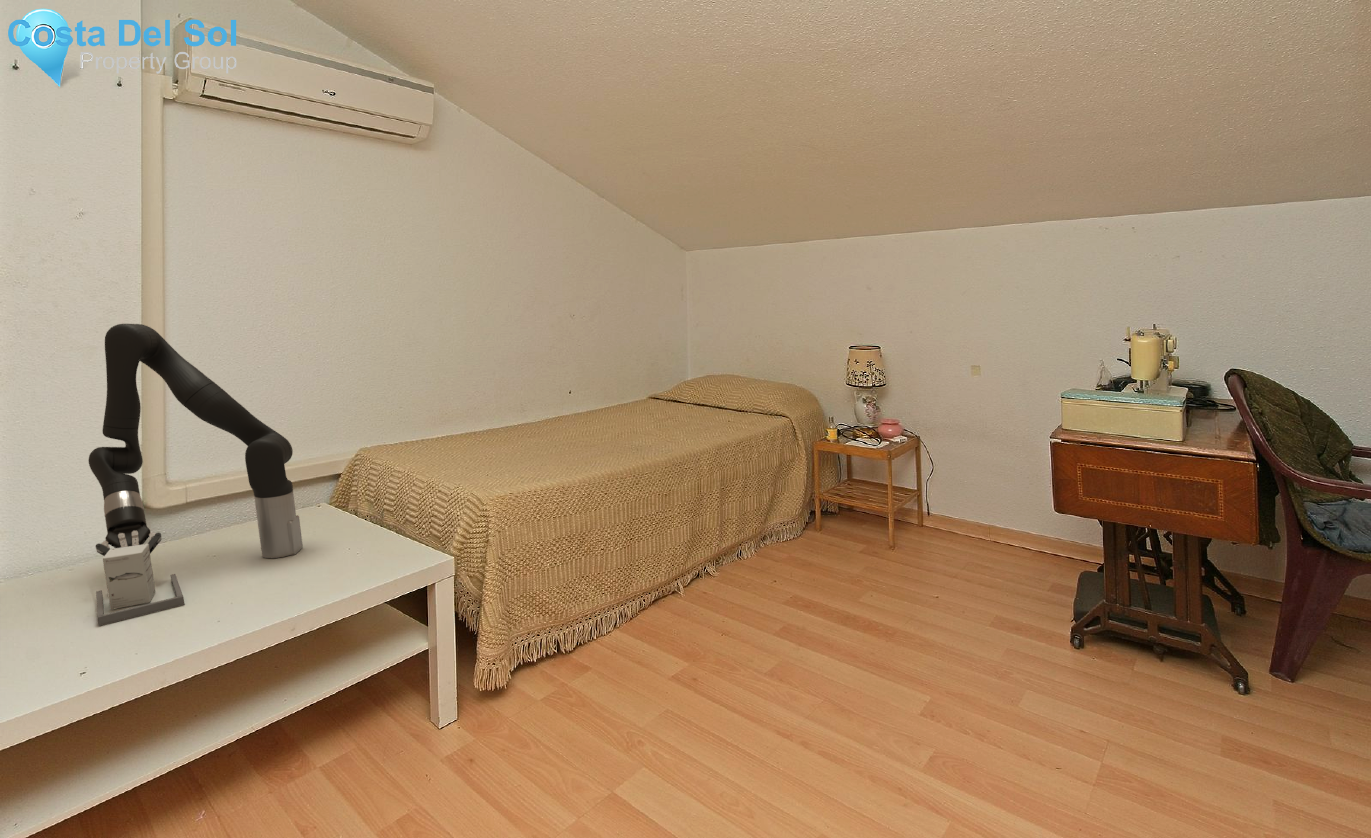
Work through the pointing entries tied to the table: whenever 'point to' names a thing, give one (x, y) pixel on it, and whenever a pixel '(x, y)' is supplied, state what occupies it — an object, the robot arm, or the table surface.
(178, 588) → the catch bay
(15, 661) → the table surface
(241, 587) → the table surface
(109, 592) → the supplement box
